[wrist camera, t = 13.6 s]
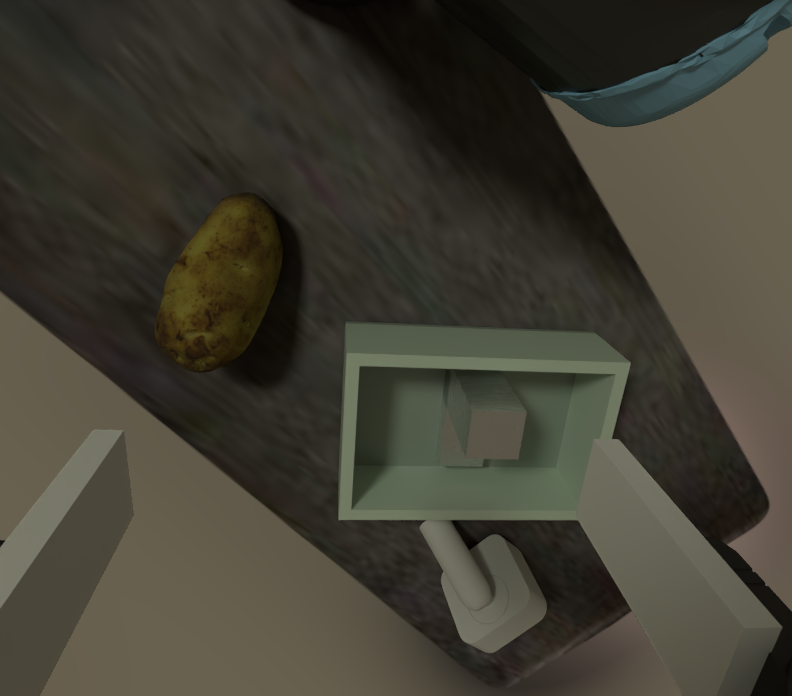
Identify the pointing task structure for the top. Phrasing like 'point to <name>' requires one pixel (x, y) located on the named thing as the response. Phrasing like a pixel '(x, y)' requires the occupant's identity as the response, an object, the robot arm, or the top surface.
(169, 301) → the potato
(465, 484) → the open box
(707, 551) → the robot arm
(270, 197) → the top surface
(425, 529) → the wall hook
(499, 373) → the grey l-shaped block
